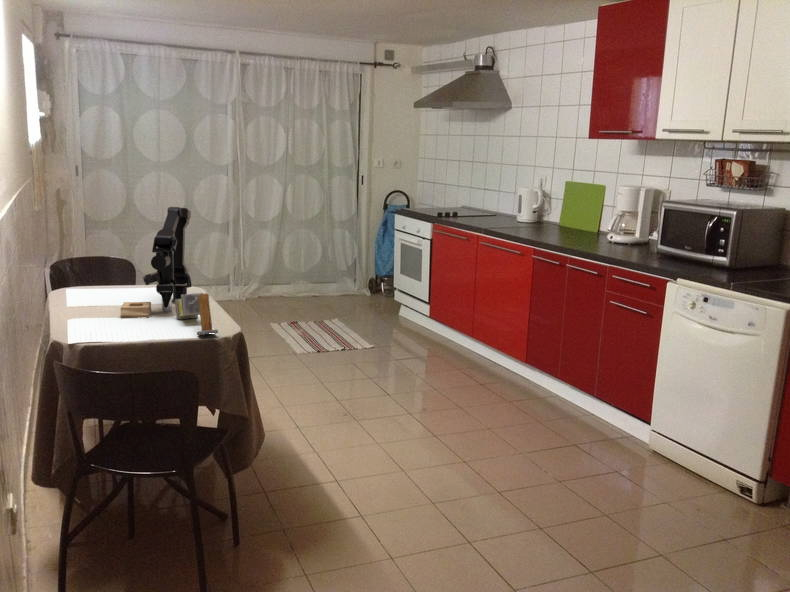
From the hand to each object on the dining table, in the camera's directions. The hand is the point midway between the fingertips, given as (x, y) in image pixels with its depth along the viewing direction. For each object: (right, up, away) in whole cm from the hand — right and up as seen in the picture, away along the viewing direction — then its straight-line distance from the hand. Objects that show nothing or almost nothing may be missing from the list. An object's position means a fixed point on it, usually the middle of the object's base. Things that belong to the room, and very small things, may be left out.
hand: (166, 304), depth 275 cm
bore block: (-10, -4, -6) cm, 12 cm away
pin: (0, -3, 0) cm, 3 cm away
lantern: (+18, -8, -20) cm, 28 cm away
